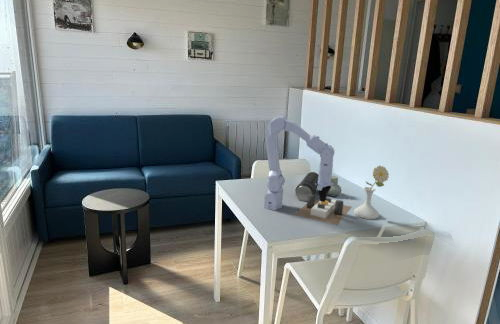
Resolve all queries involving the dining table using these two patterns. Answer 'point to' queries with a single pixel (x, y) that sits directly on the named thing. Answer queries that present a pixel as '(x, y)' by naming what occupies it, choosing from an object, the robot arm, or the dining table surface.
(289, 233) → the dining table surface
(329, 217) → the breaker panel
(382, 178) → the flower in vase
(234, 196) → the dining table surface
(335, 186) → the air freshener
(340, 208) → the post
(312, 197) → the post
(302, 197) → the muzzle brake
